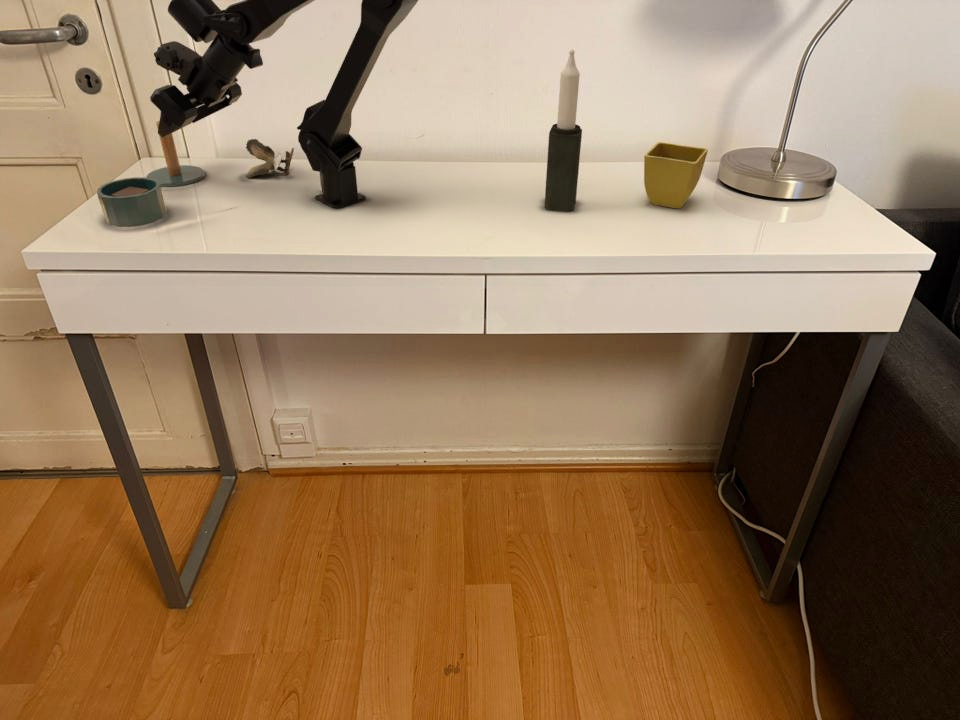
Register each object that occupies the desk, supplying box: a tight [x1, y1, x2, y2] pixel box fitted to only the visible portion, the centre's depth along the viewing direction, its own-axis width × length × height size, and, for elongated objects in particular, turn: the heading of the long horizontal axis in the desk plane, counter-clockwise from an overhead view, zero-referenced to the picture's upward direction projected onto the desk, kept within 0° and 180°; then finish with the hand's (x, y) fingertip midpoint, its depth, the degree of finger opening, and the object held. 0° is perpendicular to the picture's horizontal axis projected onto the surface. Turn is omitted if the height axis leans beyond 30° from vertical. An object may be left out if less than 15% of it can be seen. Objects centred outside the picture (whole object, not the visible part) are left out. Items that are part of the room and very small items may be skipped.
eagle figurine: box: [245, 138, 295, 179], centre depth 129 cm, size 8×7×9 cm
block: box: [111, 187, 149, 197], centre depth 112 cm, size 4×4×4 cm
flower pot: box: [643, 141, 709, 209], centre depth 119 cm, size 9×9×9 cm
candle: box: [544, 48, 583, 213], centre depth 113 cm, size 5×5×25 cm
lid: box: [145, 120, 206, 188], centre depth 125 cm, size 10×10×11 cm
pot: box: [96, 176, 168, 228], centre depth 112 cm, size 9×9×5 cm
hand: (176, 127), depth 122 cm, fingers open, 9 cm apart
